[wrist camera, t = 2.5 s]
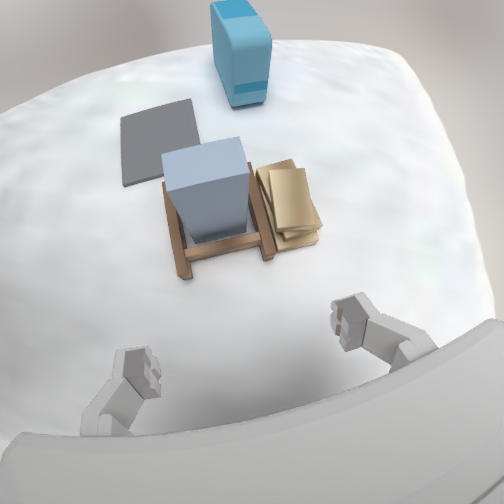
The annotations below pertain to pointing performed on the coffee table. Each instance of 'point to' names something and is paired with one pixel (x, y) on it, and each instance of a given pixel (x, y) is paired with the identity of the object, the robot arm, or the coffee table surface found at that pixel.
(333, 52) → the coffee table surface
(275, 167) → the offcut stack
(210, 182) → the pale blue pillar
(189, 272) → the rack
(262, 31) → the data package
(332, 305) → the robot arm
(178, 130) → the felt mat
